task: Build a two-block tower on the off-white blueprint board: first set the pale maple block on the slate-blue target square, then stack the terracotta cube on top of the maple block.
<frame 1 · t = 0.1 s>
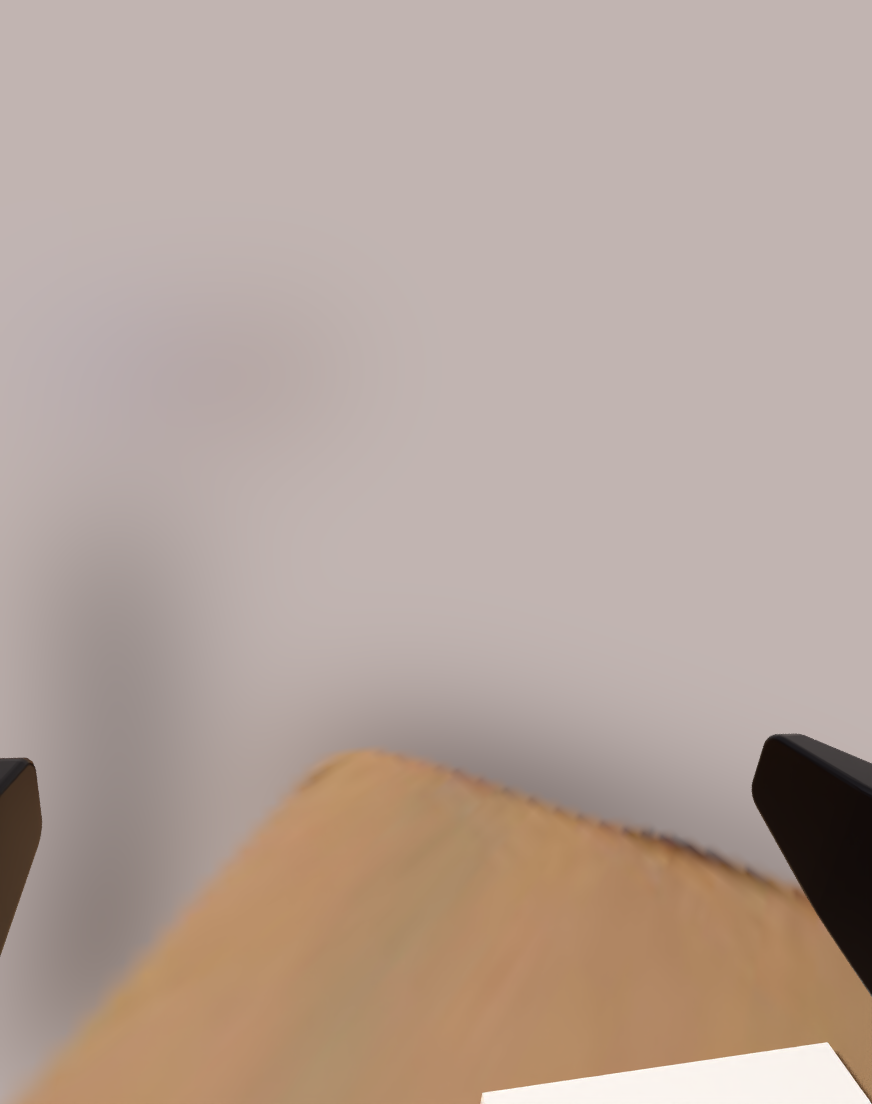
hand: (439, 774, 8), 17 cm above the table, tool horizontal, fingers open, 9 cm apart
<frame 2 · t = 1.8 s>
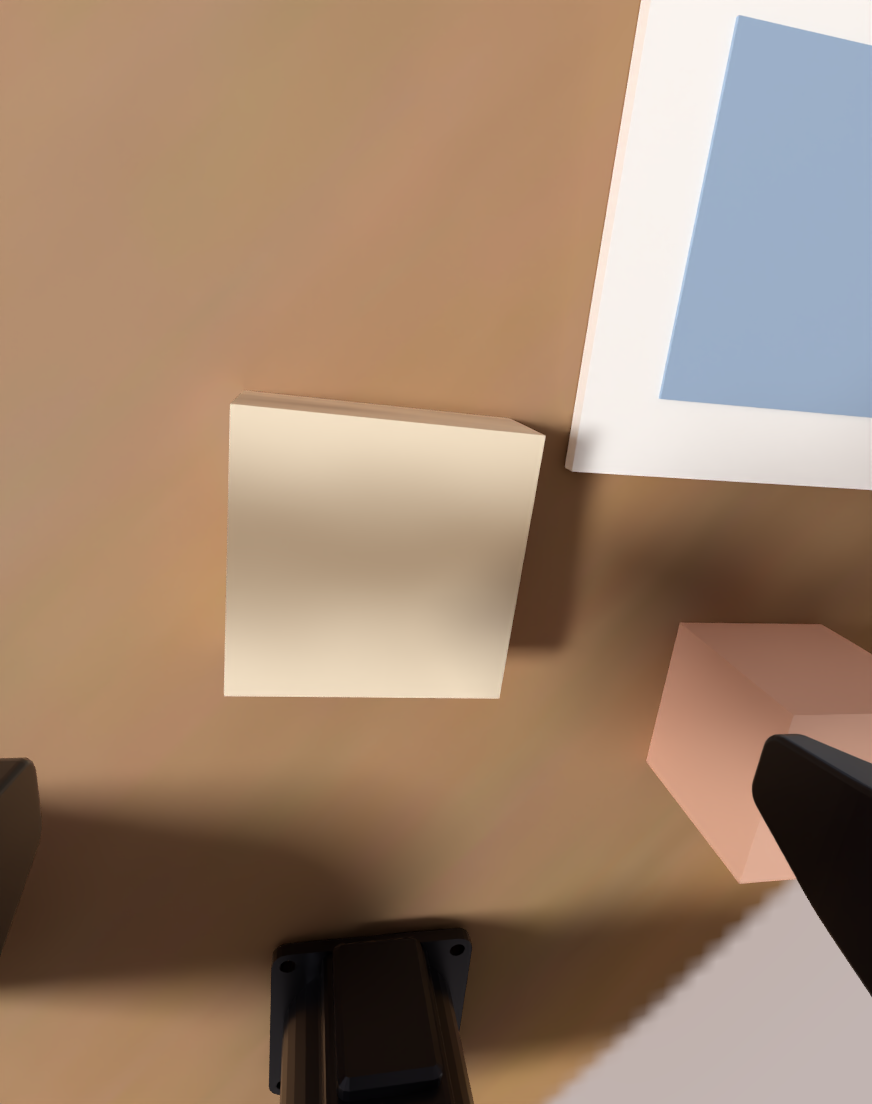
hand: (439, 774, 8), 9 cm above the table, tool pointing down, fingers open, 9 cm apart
terracotta cube: (731, 692, 21), on the table
maple block: (369, 528, 17), on the table
blueprint board: (824, 248, 16), on the table
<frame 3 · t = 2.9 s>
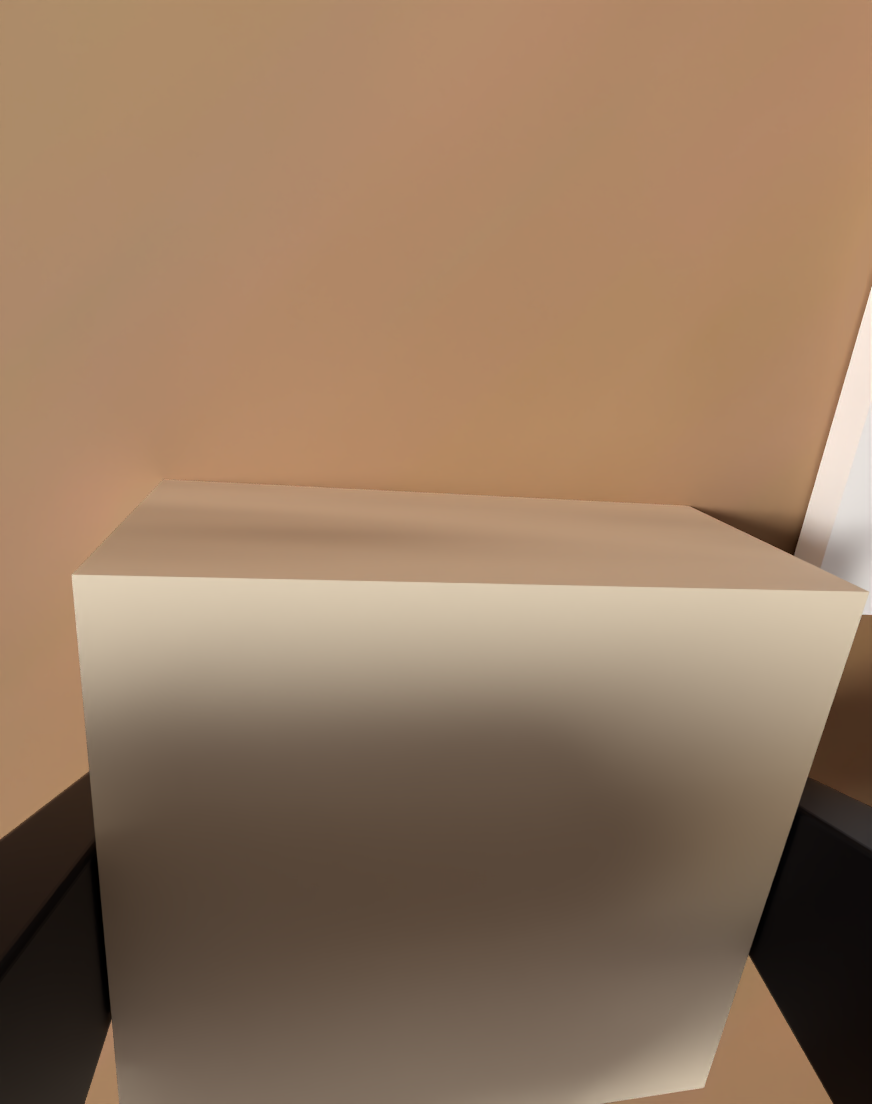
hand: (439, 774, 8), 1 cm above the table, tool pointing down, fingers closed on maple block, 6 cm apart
maple block: (423, 721, 9), on the table, touching gripper
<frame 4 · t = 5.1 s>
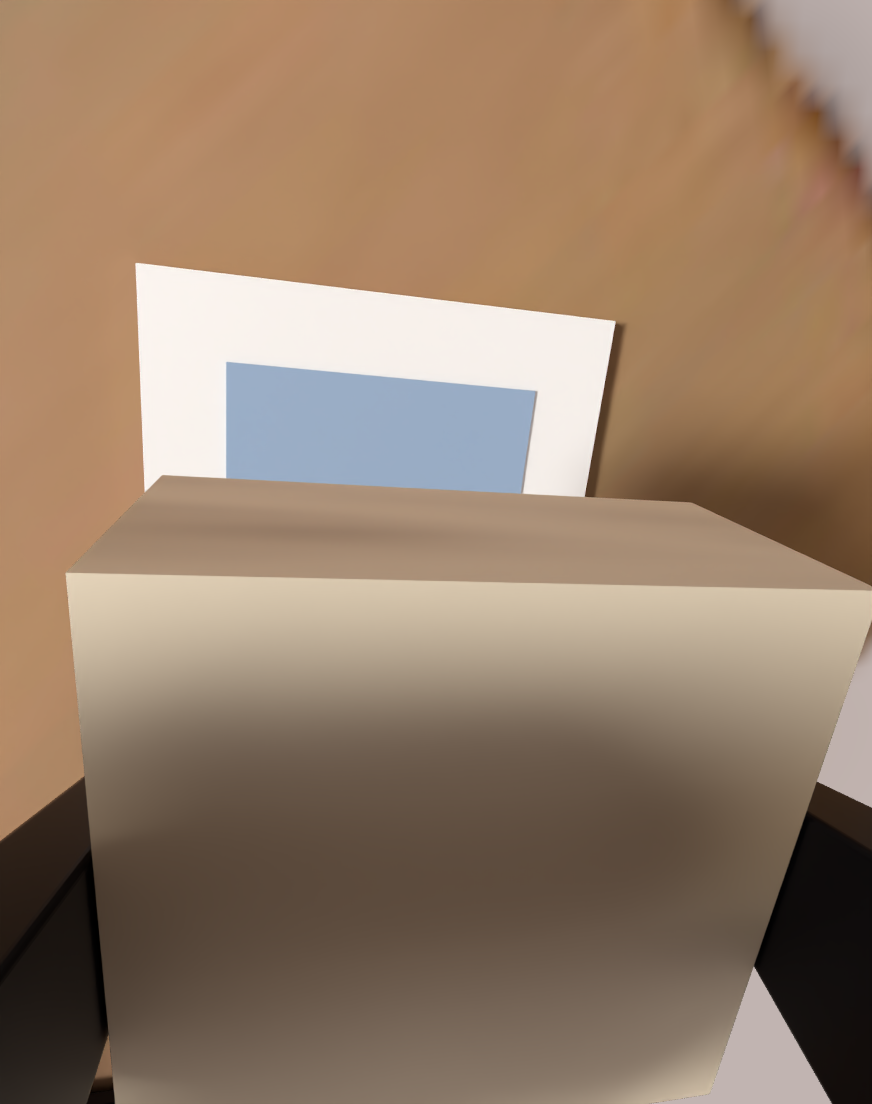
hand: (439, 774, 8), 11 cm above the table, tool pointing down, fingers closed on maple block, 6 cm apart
maple block: (425, 722, 9), point 10 cm above the table, touching gripper
blueprint board: (375, 520, 18), on the table
when the fingers open (3 cm above the table, at t = 7.1 s): maple block drops 1 cm, resting on blueprint board.
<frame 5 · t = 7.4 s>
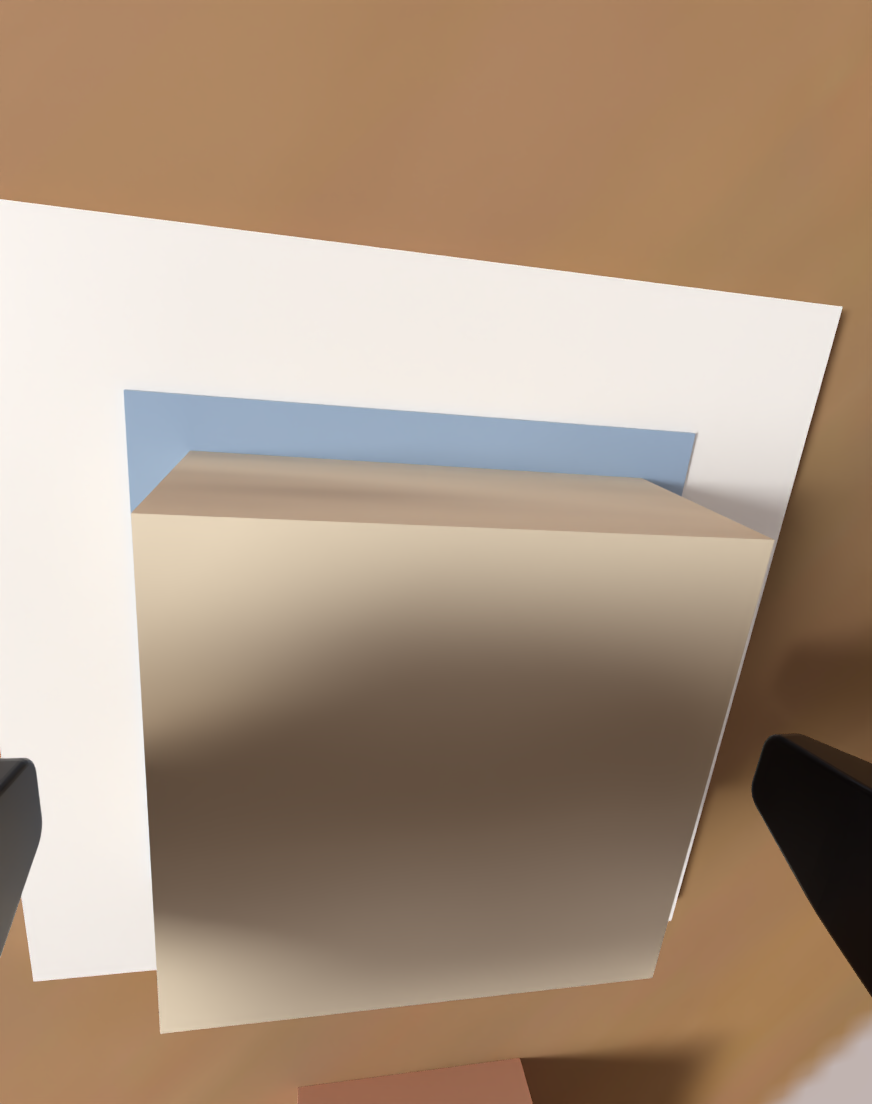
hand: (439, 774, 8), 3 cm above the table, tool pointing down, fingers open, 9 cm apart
maple block: (412, 668, 10), point 1 cm above the table, touching blueprint board
blueprint board: (406, 652, 11), on the table
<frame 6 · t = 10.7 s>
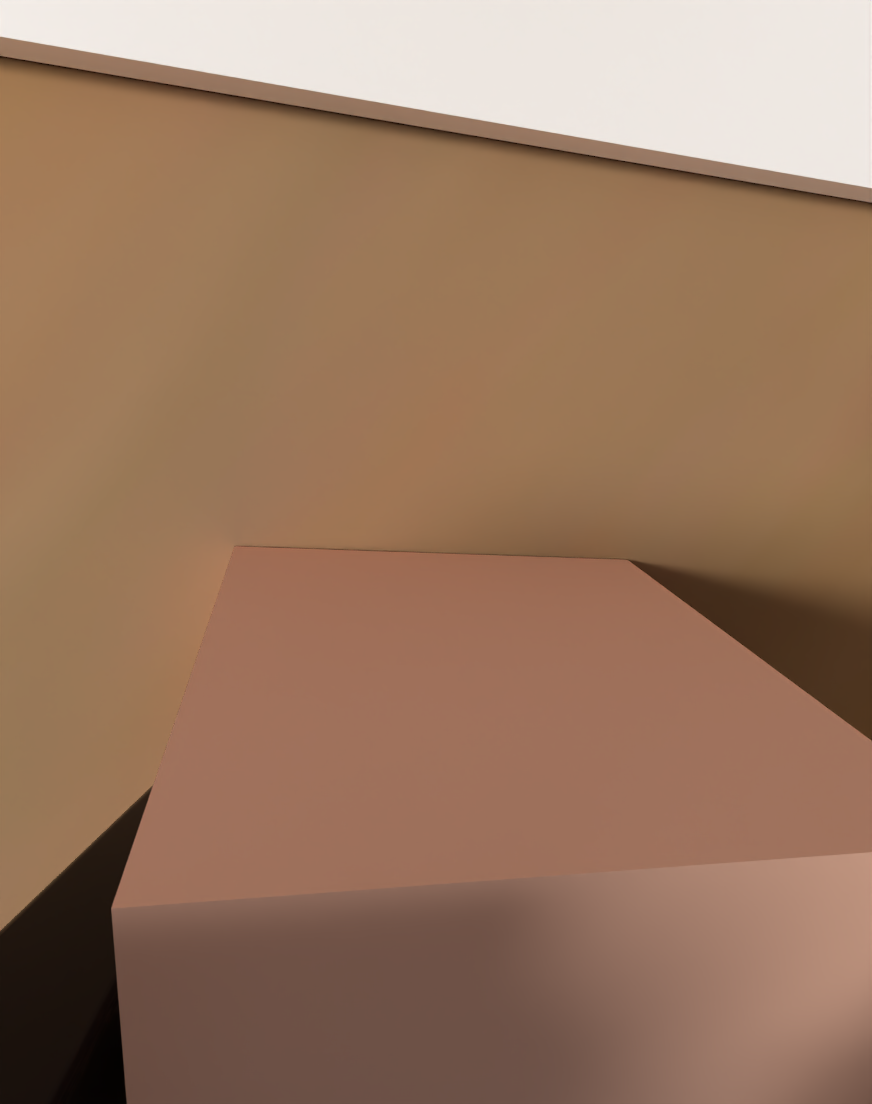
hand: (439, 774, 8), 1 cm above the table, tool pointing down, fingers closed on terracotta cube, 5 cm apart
terracotta cube: (424, 725, 9), on the table, touching gripper
when the fingers open (6 cm above the table, at t = 14.5 s): terracotta cube drops 1 cm, resting on maple block.
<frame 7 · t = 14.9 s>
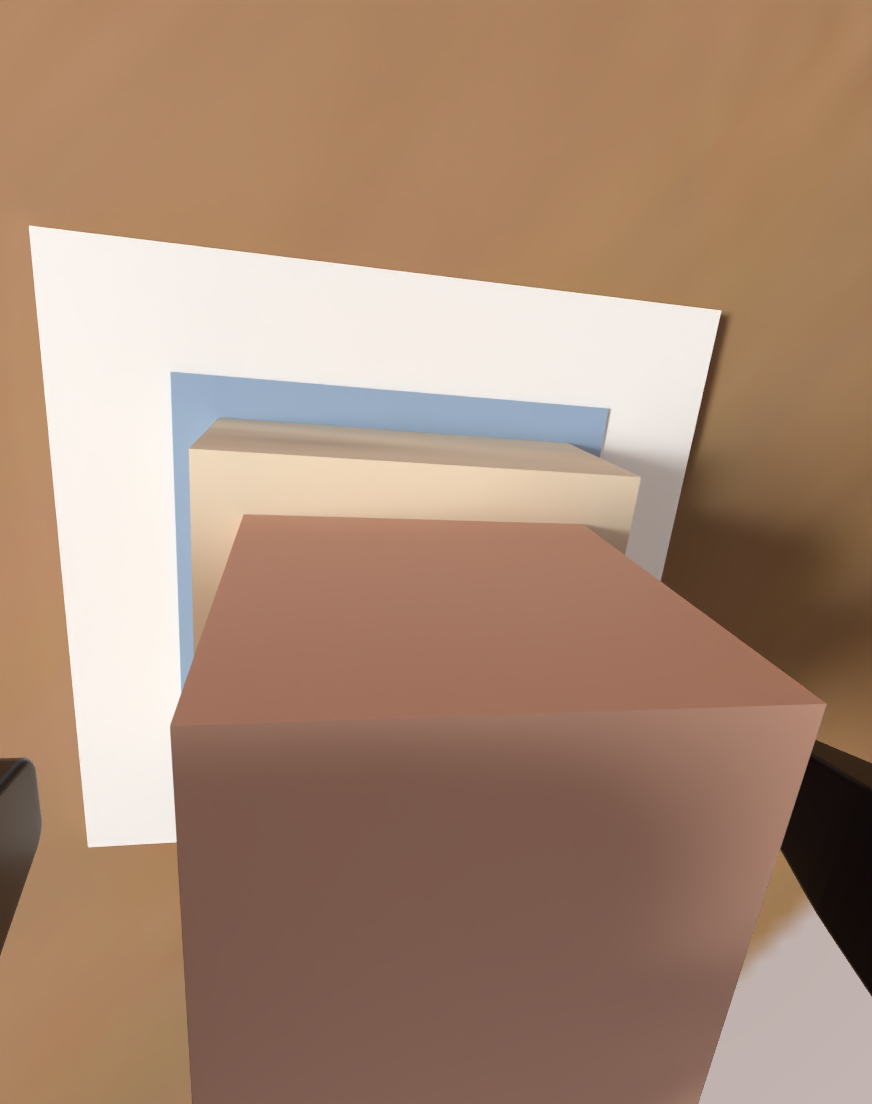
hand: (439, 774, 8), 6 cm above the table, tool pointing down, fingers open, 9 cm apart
terracotta cube: (410, 671, 10), point 4 cm above the table, touching maple block
maple block: (389, 593, 13), point 1 cm above the table, touching blueprint board, terracotta cube
blueprint board: (385, 583, 13), on the table
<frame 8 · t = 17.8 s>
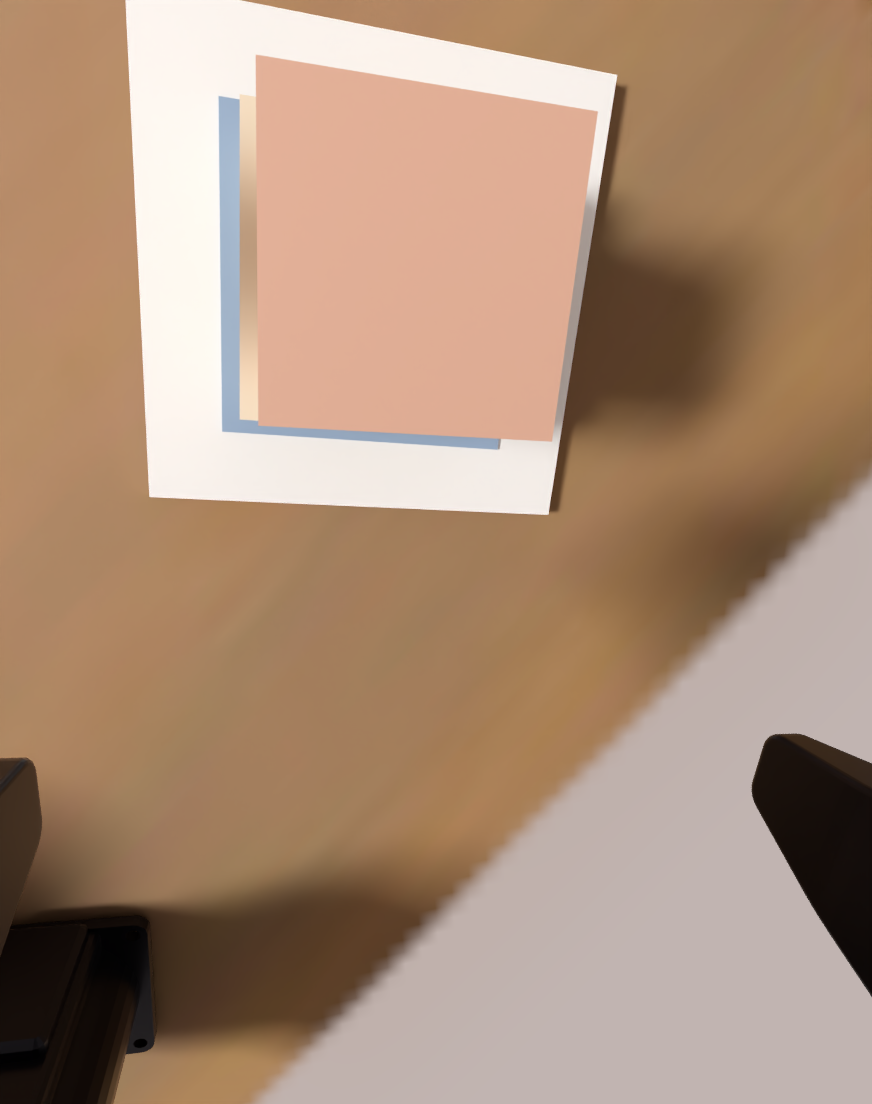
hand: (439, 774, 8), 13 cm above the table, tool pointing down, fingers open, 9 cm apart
terracotta cube: (387, 289, 15), point 4 cm above the table, touching maple block
maple block: (375, 292, 17), point 1 cm above the table, touching blueprint board, terracotta cube
blueprint board: (372, 294, 18), on the table
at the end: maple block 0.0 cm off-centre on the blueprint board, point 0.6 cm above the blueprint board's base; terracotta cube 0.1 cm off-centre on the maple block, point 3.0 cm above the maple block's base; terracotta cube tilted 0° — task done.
